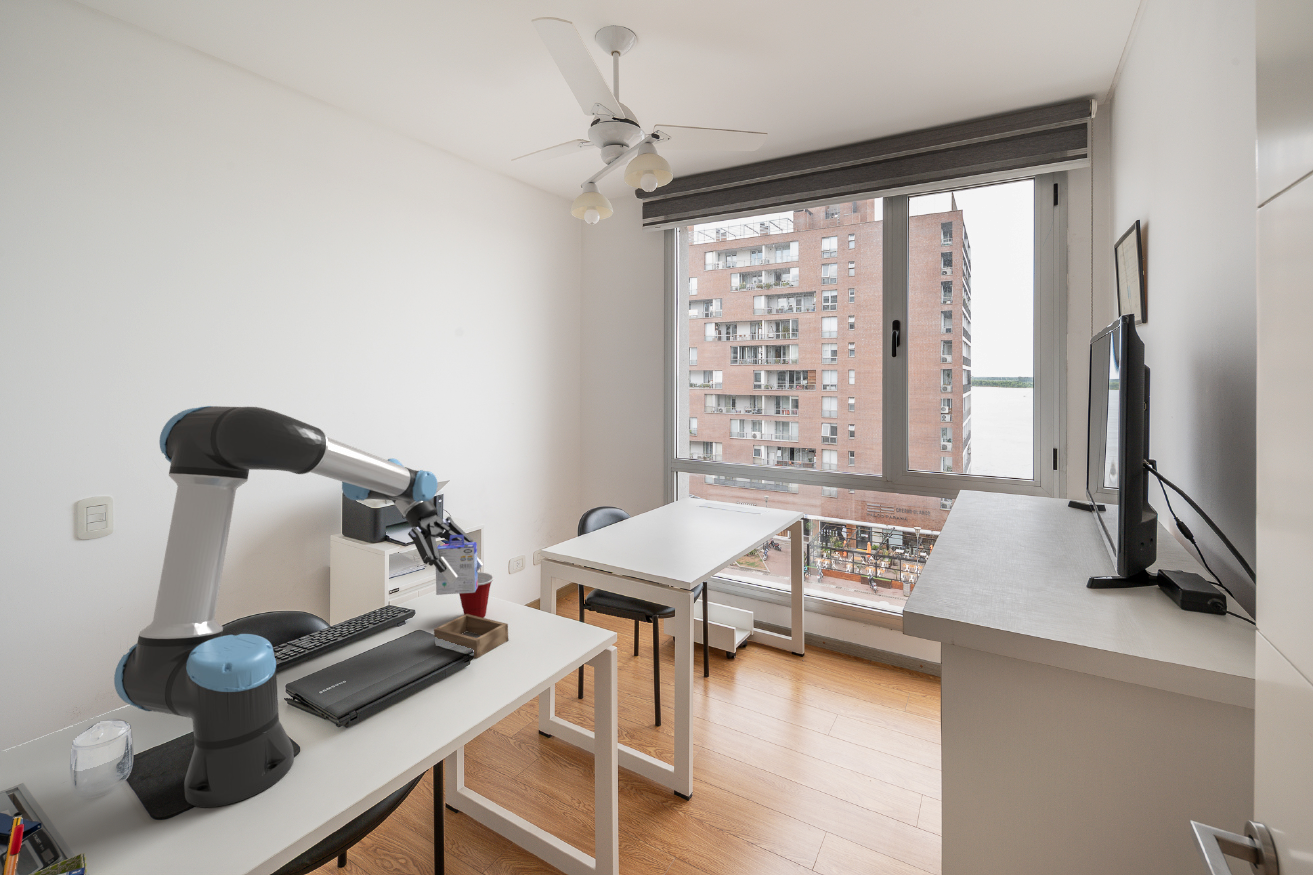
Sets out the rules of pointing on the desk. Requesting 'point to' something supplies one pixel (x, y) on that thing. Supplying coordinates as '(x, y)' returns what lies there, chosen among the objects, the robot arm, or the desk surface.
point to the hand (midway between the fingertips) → (467, 573)
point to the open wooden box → (488, 629)
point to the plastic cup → (477, 596)
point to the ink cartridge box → (458, 567)
